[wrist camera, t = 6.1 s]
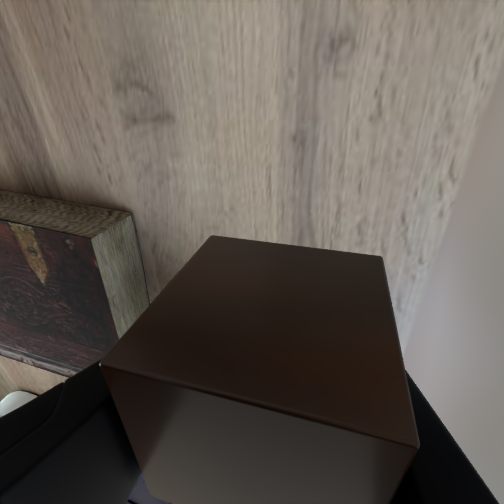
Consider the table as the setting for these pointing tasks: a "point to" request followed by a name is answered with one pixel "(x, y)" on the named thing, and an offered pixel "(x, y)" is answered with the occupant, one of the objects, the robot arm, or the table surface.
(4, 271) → the hardback book
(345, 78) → the table surface
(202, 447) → the block
